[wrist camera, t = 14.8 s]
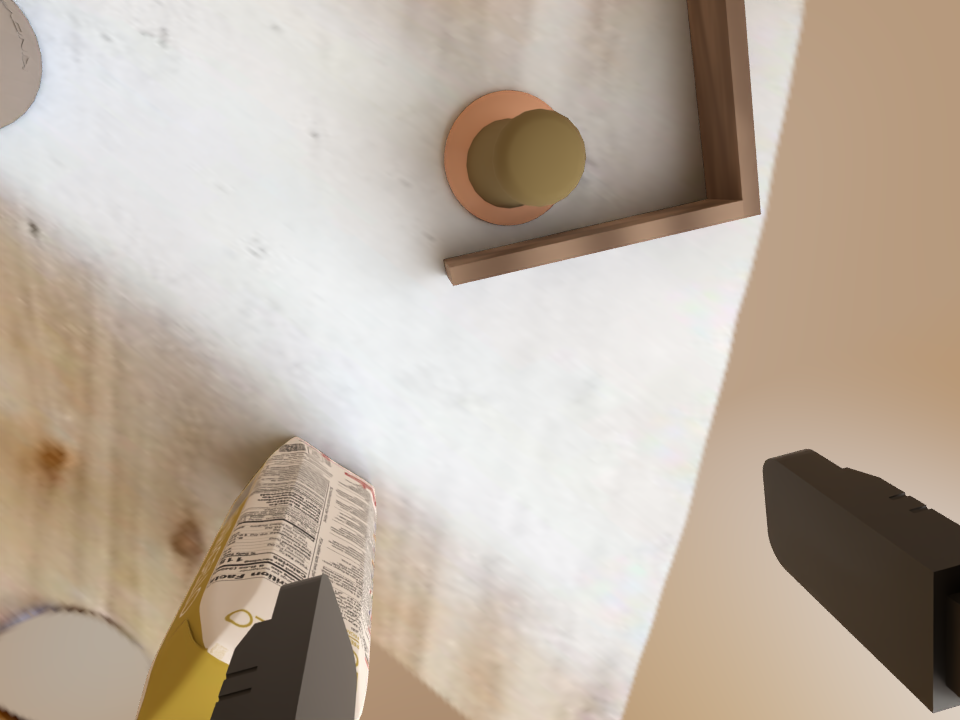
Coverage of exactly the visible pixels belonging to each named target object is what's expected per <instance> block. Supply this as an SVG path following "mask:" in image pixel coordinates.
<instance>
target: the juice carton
mask: <svg viewBox="0 0 960 720" xmlns="http://www.w3.org/2000/svg"><path fill="white" fill-rule="evenodd" d="M375 540H376V499H375V490H374V487H373V486H372V485H371V484H369V483H368V482H366V481H365V480H363V479H362V478H360V477H359V476H357V475H356V474H354V473H352V472H351V471H349V470H347V469H346V468H344V467H342V466H341V465H339V464H337V463H336V462H334V461H333V460H332V459H330V458H329V457H327V456H326V455H324V454H323V453H322V452H320V451H319V450H318V449H316V448H315V447H313V446H312V445H310V444H309V443H307V442H306V441H304V440H302V439H301V438H299V437H294V438H292V439H290V440H289V441H288V442H286V443H285V444H284V445H282V446H281V447H280V448H279V449H277V450H276V451H275V452H274V453H273V454H272V455H271V456H270V457H269V458H268V459H267V461H266V462H265V463H264V464H263V466H262V467H261V468H260V469H259V471H258V472H257V473H256V475H255V476H254V477H253V478H252V480H251V481H250V482H249V483H248V485H247V486H246V487H245V488H244V490H243V491H242V492H241V494H240V495H239V496H238V498H237V499H236V500H235V502H234V503H233V505H232V507H231V509H230V510H229V512H228V514H227V516H226V518H225V520H224V522H223V524H222V526H221V528H220V530H219V532H218V533H217V535H216V537H215V539H214V541H213V543H212V545H211V547H210V549H209V551H208V553H207V555H206V557H205V559H204V561H203V563H202V565H201V567H200V569H199V571H198V572H197V574H196V576H195V578H194V580H193V582H192V584H191V586H190V588H189V590H188V592H187V594H186V596H185V598H184V600H183V602H182V604H181V606H180V608H179V610H178V612H177V614H176V616H175V618H174V619H173V621H172V623H171V625H170V627H169V629H168V631H167V633H166V635H165V637H164V639H163V641H162V643H161V646H160V648H159V650H158V652H157V654H156V656H155V658H154V660H153V663H152V665H151V667H150V670H149V672H148V675H147V678H146V682H145V685H144V689H143V692H142V696H141V700H140V704H139V707H138V711H137V715H136V719H135V720H210V718H211V716H212V713H213V710H214V707H215V704H216V702H218V701H219V698H218V695H219V692H220V690H221V687H222V684H223V681H224V680H225V679H226V672H227V669H228V666H229V664H230V661H231V658H232V655H233V652H234V649H235V648H236V646H237V645H238V644H239V643H240V641H241V640H242V639H243V637H244V636H245V635H246V634H247V632H248V631H249V630H250V629H251V627H252V626H253V625H254V624H255V623H258V622H262V621H265V620H269V619H271V618H272V614H273V611H274V607H275V604H276V600H277V597H278V593H279V590H280V588H281V586H282V585H284V584H288V583H292V582H295V581H299V580H303V579H307V578H311V577H315V576H318V575H322V574H326V575H327V576H328V578H329V579H330V582H331V584H332V587H333V590H334V593H335V596H336V599H337V602H338V605H339V608H340V611H341V614H342V617H343V620H344V623H345V626H346V629H347V632H348V636H349V639H350V642H351V645H352V648H353V652H354V657H355V663H356V672H357V690H356V704H355V717H354V720H359V718H360V716H361V714H362V710H363V705H364V700H365V695H366V689H367V681H368V669H369V653H370V635H371V616H372V597H373V578H374V559H375Z"/></svg>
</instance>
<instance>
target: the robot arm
mask: <svg viewBox="0 0 960 720" xmlns="http://www.w3.org/2000/svg"><path fill="white" fill-rule="evenodd" d="M41 75H42V61H41V52H40V49H39V45H38V41H37V38H36V35H35V33H34V31H33V29H32V27H31V25H30V23H29V21H28V19H27V18H26V17H25V15H24V14H23V13H22V11H21V10H20V8H19V7H18V6H17V4H15V3H14V2H13V1H12V0H0V128H2V127H4V126H7V125H9V124H11V123H13V122H14V121H16V120H17V119H18V118H19V117H21V116H22V115H23V114H25V112H26V111H27V110H28V108H29V107H30V106H31V104H32V103H33V102H34V100H35V97H36V95H37V92H38V90H39V88H40V82H41ZM763 481H764V491H765V503H766V515H767V526H768V536H769V540H770V543H771V546H772V549H773V551H774V553H775V555H776V557H777V559H778V561H779V562H780V564H781V565H782V566H783V567H784V568H785V570H787V572H789V574H791V575H792V576H793V577H794V578H795V579H796V580H797V581H798V582H799V583H800V584H801V585H802V586H803V587H804V588H805V589H806V590H807V591H808V592H809V593H810V594H811V595H812V596H813V597H814V598H815V599H816V600H817V601H818V602H819V603H820V604H821V605H822V606H823V607H824V608H825V609H827V611H828V612H830V613H831V614H832V615H833V616H834V617H835V618H836V619H837V620H838V621H839V622H840V623H841V624H842V625H843V626H844V627H845V628H846V629H847V630H848V631H849V632H850V633H851V634H852V635H853V636H854V637H855V638H856V639H857V640H858V641H859V642H860V643H861V644H863V646H864V647H866V648H867V649H868V650H869V651H870V652H871V653H872V654H873V655H874V656H875V657H876V658H877V659H878V660H879V661H880V662H881V663H882V664H883V665H884V666H885V667H886V668H887V669H888V670H889V671H890V672H891V673H892V674H893V675H894V676H895V677H896V678H897V679H899V680H900V682H901V683H903V684H904V685H905V686H906V687H907V688H908V689H909V690H910V691H911V692H912V693H913V694H914V695H915V696H916V697H917V698H918V699H919V700H920V701H921V702H922V703H923V704H924V705H925V706H926V707H927V708H928V709H929V710H930V711H931V712H932V713H935V712H939V711H942V710H946V709H949V708H952V707H956V706H959V705H960V525H958V524H957V523H955V522H953V521H952V520H950V519H948V518H946V517H945V516H943V515H942V514H940V513H938V512H937V511H935V510H933V509H929V510H928V509H927V507H926V505H924V504H923V503H921V502H920V501H918V500H916V499H915V498H913V497H911V496H906V495H905V492H903V491H901V490H900V489H898V488H896V487H894V486H892V485H891V484H889V483H888V482H886V481H884V480H883V479H881V478H879V477H876V476H873V475H869V474H866V473H863V472H860V471H857V470H853V469H850V468H843V469H842V468H840V467H839V466H837V465H836V464H834V463H832V462H831V461H829V460H828V459H826V458H824V457H823V456H821V455H819V454H818V453H816V452H814V451H813V450H810V449H804V450H800V451H797V452H793V453H789V454H785V455H782V456H778V457H774V458H770V459H768V460H766V461H765V463H764V465H763ZM356 690H357V672H356V663H355V657H354V652H353V648H352V645H351V642H350V639H349V636H348V632H347V629H346V626H345V623H344V620H343V617H342V614H341V611H340V608H339V605H338V602H337V599H336V596H335V593H334V590H333V587H332V584H331V582H330V579H329V578H328V576H327V575H326V574H322V575H318V576H315V577H311V578H307V579H303V580H299V581H295V582H292V583H288V584H284V585H282V586H281V588H280V590H279V593H278V597H277V600H276V604H275V607H274V611H273V614H272V618H271V619H269V620H265V621H262V622H258V623H255V624H254V625H253V626H252V627H251V629H250V630H249V631H248V632H247V634H246V635H245V636H244V637H243V639H242V640H241V641H240V643H239V644H238V645H237V646H236V648H235V649H234V652H233V655H232V658H231V661H230V664H229V666H228V669H227V672H226V679H225V680H224V681H223V684H222V687H221V690H220V692H219V695H218V698H219V701H218V702H216V704H215V707H214V710H213V713H212V716H211V718H210V720H354V717H355V704H356Z"/></svg>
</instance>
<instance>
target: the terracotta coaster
mask: <svg viewBox="0 0 960 720" xmlns="http://www.w3.org/2000/svg"><path fill="white" fill-rule="evenodd" d="M534 109H546V110H553V109H552V108H551V107H549V106H548V105H547V104H546V103H545V102H543V101H542V100H540V99H539V98H537V97H535V96H532V95H530V94H527V93H524V92H519V91H498V92H493V93H490V94H487V95H485V96H483V97H480V98H479V99H477V100H475V101H474V102H472V103H471V104H470V105H469V106H468V107H466V108H465V109H464V111H463V112H462V113H461V114H460V115H459V116H458V118H457V119H456V121H455V122H454V124H453V126H452V128H451V130H450V132H449V135H448V138H447V141H446V146H445V154H444V165H445V172H446V176H447V180H448V183H449V185H450V187H451V190H452V192H453V193H454V195H455V197H456V198H457V199H458V201H459V202H460V203H461V205H462V206H463V207H464V208H465V209H466V210H468V211H469V212H470V213H472V214H473V215H474V216H476V217H478V218H480V219H482V220H484V221H487V222H489V223H493V224H497V225H518V224H523V223H526V222H529V221H531V220H534V219H536V218H538V217H539V216H541V215H542V214H544V213H545V212H546V211H547V210H549V209H550V208H551V207H552V206H553V205H554V204H552V205H547V206H542V207H537V206H529V205H524V206H520V207H515V208H511V209H509V208H501V207H496V206H494V205H492V204H490V203H488V202H486V201H484V200H483V199H482V198H481V197H480V196H479V195H478V194H477V193H476V192H475V190H474V188H473V186H472V184H471V183H470V181H469V178H468V172H467V167H466V163H467V154H468V150H469V148H470V145H471V143H472V141H473V139H474V137H475V136H476V135H477V134H478V133H479V132H480V131H481V129H482V128H483V127H485V126H487V125H489V124H490V123H492V122H494V121H497V120H502V119H507V118H510V119H513V118H514V117H516V116H518V115H520V114H521V113H523V112H525V111H529V110H534Z"/></svg>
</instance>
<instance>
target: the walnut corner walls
mask: <svg viewBox="0 0 960 720" xmlns="http://www.w3.org/2000/svg"><path fill="white" fill-rule="evenodd" d="M687 6H688V16H689V26H690V36H691V46H692V56H693V66H694V76H695V86H696V95H697V105H698V115H699V125H700V135H701V145H702V155H703V165H704V175H705V185H706V194H707V199H705V200H701V201H696V202H692V203H688V204H683V205H679V206H675V207H670V208H666V209H662V210H657V211H653V212H648V213H644V214H640V215H635V216H631V217H627V218H622V219H618V220H614V221H609V222H605V223H601V224H596V225H592V226H587V227H583V228H579V229H574V230H570V231H566V232H561V233H557V234H553V235H548V236H544V237H539V238H535V239H531V240H526V241H522V242H518V243H513V244H509V245H505V246H500V247H496V248H492V249H487V250H483V251H478V252H474V253H470V254H465V255H461V256H457V257H452V258H448V259H444V264H445V269H446V273H447V276H448V278H449V280H450V281H451V283H452V284H453V286H454V285H459V284H463V283H467V282H472V281H476V280H480V279H485V278H489V277H493V276H497V275H502V274H506V273H510V272H515V271H519V270H523V269H527V268H532V267H536V266H540V265H545V264H549V263H553V262H558V261H562V260H566V259H570V258H575V257H579V256H583V255H588V254H592V253H596V252H601V251H605V250H609V249H613V248H618V247H622V246H626V245H631V244H635V243H639V242H644V241H648V240H652V239H656V238H661V237H665V236H669V235H674V234H678V233H682V232H686V231H691V230H695V229H699V228H704V227H708V226H712V225H717V224H721V223H725V222H729V221H734V220H738V219H742V218H747V217H751V216H755V215H760V214H761V211H760V199H759V186H758V173H757V160H756V147H755V134H754V121H753V108H752V95H751V82H750V69H749V56H748V43H747V30H746V17H745V4H744V0H687Z"/></svg>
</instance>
